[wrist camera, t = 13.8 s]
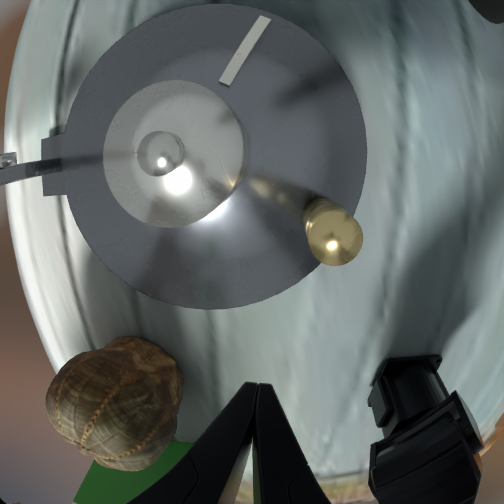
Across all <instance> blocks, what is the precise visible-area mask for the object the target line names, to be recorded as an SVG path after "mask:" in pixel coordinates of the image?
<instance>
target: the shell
mask: <svg viewBox="0 0 504 504" xmlns="http://www.w3.org/2000/svg"><path fill="white" fill-rule="evenodd" d="M183 383H184V375H183V373H182V371H181V370H180V368H179V366H178V365H177V363H176V362H175V361H174V360H173V359H172V358H170V357H169V356H168V355H167V354H166V353H165V352H164V351H163V350H162V349H161V348H159V347H158V346H156V345H154V344H153V343H151V342H149V341H146V340H143V339H140V338H137V337H134V336H130V337H121V338H117V339H115V340H113V341H111V342H110V343H109V344H107V345H106V346H105V347H104V348H102V349H99V350H94V351H89V352H82V353H80V354H78V355H76V356H75V357H73V358H72V359H70V360H69V361H68V362H67V363H66V364H65V365H64V366H63V367H62V368H61V369H60V370H59V372H58V374H57V375H56V376H55V378H54V379H53V381H52V383H51V385H50V387H49V389H48V392H47V395H46V409H47V414H48V417H49V419H50V421H51V422H52V424H53V426H54V427H55V428H56V429H57V431H58V432H59V433H60V434H61V436H62V437H63V439H64V440H65V441H67V442H68V443H71V444H74V445H76V446H77V448H78V449H79V451H80V453H81V454H82V455H85V456H92V457H93V458H94V459H95V460H96V462H97V463H99V464H100V465H102V466H104V467H107V468H115V469H119V470H124V471H139V470H144V468H146V467H149V466H151V465H152V464H153V463H155V461H156V460H157V459H158V458H159V456H160V455H161V454H162V452H163V451H164V450H165V449H166V448H167V446H168V444H169V443H170V442H171V440H172V438H173V436H174V434H175V432H176V430H177V413H178V409H179V405H180V402H181V399H182V394H183Z"/></svg>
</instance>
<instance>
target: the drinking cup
mask: <svg viewBox="0 0 504 504" xmlns="http://www.w3.org/2000/svg"><path fill="white" fill-rule="evenodd" d="M469 1H470V3H471V4H472V5H473V7H474V8H475V9H476V10H477V11H478V12H479V13H480V14H481V15H482V16H483V17H484V18H486V19H487V20H488V21H490V22H492V23H495V24H500V23H503V22H504V0H469Z"/></svg>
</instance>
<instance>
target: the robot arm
mask: <svg viewBox="0 0 504 504" xmlns="http://www.w3.org/2000/svg"><path fill="white" fill-rule="evenodd" d="M441 362H442V357H441V355H431V356H420V357H407V358H391V359H388V360H386V361H385V363H384V365H383V368H382V370H381V373H380V375H379V377H378V379H377V380H376V382H375V384H374V386H373V389H372V391H371V393H370V395H369V400H368V402H367V403H368V406H369V407H372V410H373V414H374V418H375V422H376V426H377V427H378V428H382V431H383V435H384V439H382V440H380V441H379V442H375V443H373V444H371V449H370V466H369V480H368V485H369V487H370V490H371V491H372V494H373V495H374V497H375V498H376V499H377V500H378V502H379V504H476V497H477V493H478V490H479V486H480V481H481V477H482V472H483V462H482V460H481V457H480V455H479V453H478V452H479V451H481V450H482V449H484V444H483V441H482V438H481V435H480V432H479V429H478V426H477V423H476V421H475V419H474V417H473V415H472V414H471V412H470V410H469V408H468V406H467V405H466V403H465V402H464V401H463V399H462V398H461V396H460V395H459V394H458V392H457V391H456V390H455V391H454V392H452V393H451V395H449V393H448V391H447V389H446V387H445V386H444V384H443V382H442V380H441V378H440V376H439V374H438V372H437V370H438V368H439V366H440V364H441ZM390 363H391V364H390ZM252 439H253V442H252ZM251 444H252V457H253V497H254V504H331V502H330V501H329V500H328V498H327V497H326V495H325V494H324V492H323V491H322V489H321V487H320V486H319V484H318V482H317V480H316V478H315V476H314V475H313V473H312V471H311V468H310V466H309V465H308V462H307V460H306V458H305V456H304V454H303V452H302V450H301V448H300V446H299V443H298V441H297V439H296V437H295V435H294V433H293V430H292V428H291V426H290V424H289V422H288V420H287V417H286V415H285V413H284V411H283V408H282V406H281V404H280V402H279V400H278V397H277V395H276V393H275V390H274V388H273V386H272V385H271V384H268V383H259V384H258V383H255V382H245V383H244V384H243V385H242V386H241V388H240V389H239V390H238V392H237V393H236V394H235V395H234V397H233V398H232V399H231V400H230V402H229V403H228V404H227V405H226V407H225V408H224V409H223V410H222V411H221V413H220V414H219V415H218V416H217V418H216V419H215V420H214V421H213V422H212V424H211V425H210V426H209V427H208V428H207V429H206V431H205V432H204V433H203V434H202V435H201V436H200V438H199V439H198V440H197V441H196V442H195V443H194V444H193V446H192V447H191V448H190V449H189V450H188V451H187V453H185V454H184V455H183V457H182V458H181V459H180V460H179V461H178V462H177V463H176V464H175V465H174V466H173V467H172V468H171V469H170V470H169V471H168V472H167V473H166V474H164V475H163V476H162V477H161V478H160V479H158V480H157V481H156V482H155V483H153V484H152V485H151V486H149V487H148V488H147V489H145V490H144V491H143V492H141V493H140V494H138V495H137V496H136V497H134V498H133V499H131V500H130V501H128V502H127V503H125V504H234V502H235V499H236V496H237V493H238V489H239V486H240V483H241V480H242V476H243V473H244V469H245V466H246V463H247V459H248V456H249V452H250V448H251ZM0 504H8V503H7V502H6V501H5V500H3V499H2V498H1V497H0ZM11 504H22V503H20V502H15V503H11Z"/></svg>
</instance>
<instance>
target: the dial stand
mask: <svg viewBox="0 0 504 504" xmlns="http://www.w3.org/2000/svg"><path fill="white" fill-rule="evenodd" d="M64 135H65V133H64V134H60V135H56V136H52V137H49V138H45V139H41V160H40V161H33V162H27V163H22V164H17V152H11V153H4V154H0V186H1V185H4V184H8V183H12V182H16V181H20V180H24V179H28V178H33V177H37V176H42V183H43V196H54V195H66V191H65V184H64V178H63V162H62V154H63V142H64Z"/></svg>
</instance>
